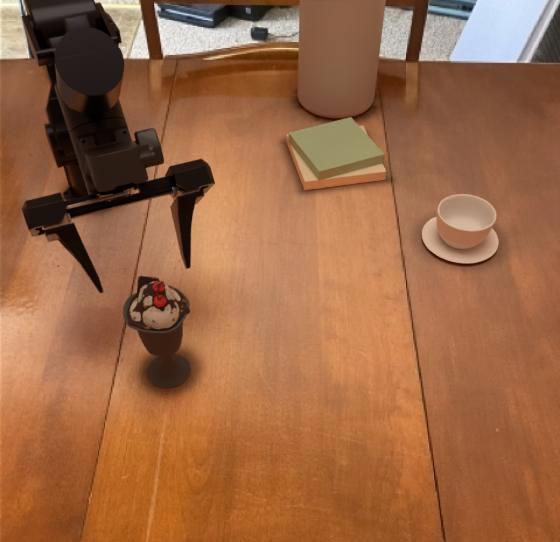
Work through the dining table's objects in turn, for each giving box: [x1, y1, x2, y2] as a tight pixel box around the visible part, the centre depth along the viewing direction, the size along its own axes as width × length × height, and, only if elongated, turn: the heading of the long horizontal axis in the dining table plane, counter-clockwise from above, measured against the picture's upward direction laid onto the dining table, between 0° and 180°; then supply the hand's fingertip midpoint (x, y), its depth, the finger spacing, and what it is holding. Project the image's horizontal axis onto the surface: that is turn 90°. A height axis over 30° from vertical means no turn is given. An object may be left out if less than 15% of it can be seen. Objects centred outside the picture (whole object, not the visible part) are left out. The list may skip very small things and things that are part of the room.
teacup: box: [421, 193, 499, 264], centre depth 88 cm, size 10×10×5 cm
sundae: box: [122, 275, 192, 389], centre depth 70 cm, size 7×7×15 cm
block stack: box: [286, 117, 387, 191], centre depth 99 cm, size 12×12×3 cm
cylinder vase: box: [297, 0, 387, 119], centre depth 101 cm, size 12×12×25 cm
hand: (145, 280), depth 70 cm, fingers open, 9 cm apart
